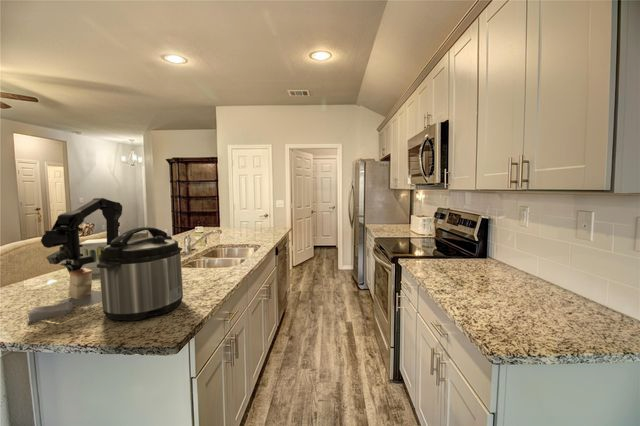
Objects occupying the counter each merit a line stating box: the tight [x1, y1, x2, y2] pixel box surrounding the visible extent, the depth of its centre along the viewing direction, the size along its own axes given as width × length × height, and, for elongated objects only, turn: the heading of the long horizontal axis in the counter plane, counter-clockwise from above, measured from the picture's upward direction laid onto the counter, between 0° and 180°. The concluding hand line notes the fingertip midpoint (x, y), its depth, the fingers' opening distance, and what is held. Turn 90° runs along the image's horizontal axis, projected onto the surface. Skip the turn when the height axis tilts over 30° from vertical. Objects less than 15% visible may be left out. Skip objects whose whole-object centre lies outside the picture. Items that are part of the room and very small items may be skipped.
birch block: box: [68, 268, 93, 299], centre depth 131 cm, size 6×5×11 cm
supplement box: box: [80, 238, 107, 275], centre depth 173 cm, size 13×13×18 cm
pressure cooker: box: [97, 226, 184, 321], centre depth 118 cm, size 30×28×32 cm
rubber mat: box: [57, 289, 102, 307], centre depth 130 cm, size 14×18×1 cm
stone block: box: [27, 302, 74, 323], centre depth 115 cm, size 12×5×10 cm
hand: (74, 278), depth 132 cm, fingers closed
